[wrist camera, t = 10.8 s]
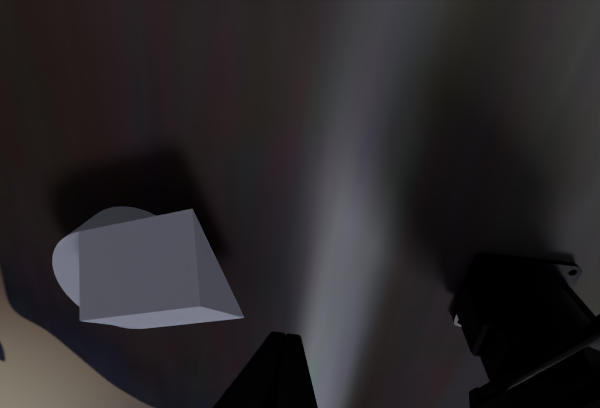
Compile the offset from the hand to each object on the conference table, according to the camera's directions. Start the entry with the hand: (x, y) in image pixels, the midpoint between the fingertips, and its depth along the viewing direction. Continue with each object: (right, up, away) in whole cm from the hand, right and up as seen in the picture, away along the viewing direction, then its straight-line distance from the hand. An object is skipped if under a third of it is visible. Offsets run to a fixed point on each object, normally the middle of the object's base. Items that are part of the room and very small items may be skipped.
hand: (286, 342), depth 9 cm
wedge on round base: (-10, 0, +17) cm, 20 cm away
